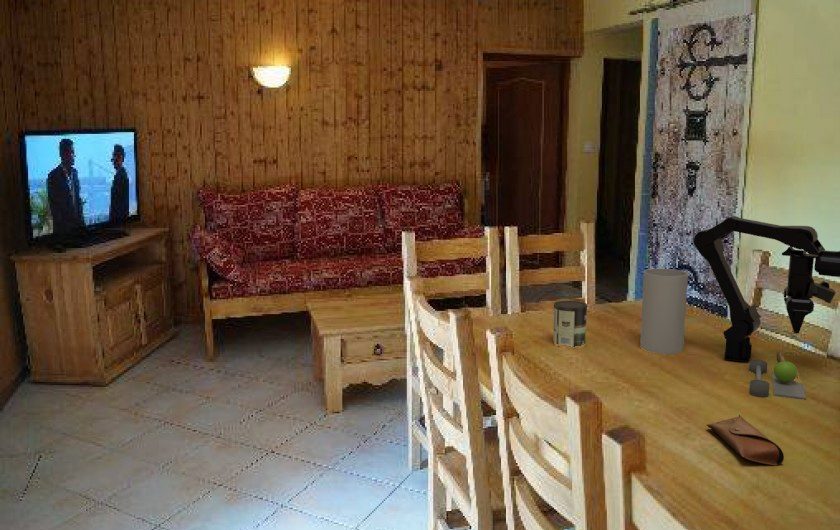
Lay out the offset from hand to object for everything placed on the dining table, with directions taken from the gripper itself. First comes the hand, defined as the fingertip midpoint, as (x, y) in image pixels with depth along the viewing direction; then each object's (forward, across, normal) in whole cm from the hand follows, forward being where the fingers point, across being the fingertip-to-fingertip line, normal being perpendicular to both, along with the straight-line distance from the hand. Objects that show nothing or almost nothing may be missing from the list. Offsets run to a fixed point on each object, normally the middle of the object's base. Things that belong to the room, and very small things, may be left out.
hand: (795, 329), depth 191 cm
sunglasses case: (+14, -57, +14) cm, 60 cm away
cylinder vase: (+13, +7, +35) cm, 38 cm away
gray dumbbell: (+13, -14, +8) cm, 21 cm away
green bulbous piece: (+10, -15, +2) cm, 18 cm away
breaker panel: (+13, -14, +2) cm, 19 cm away
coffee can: (+13, +1, +62) cm, 63 cm away
